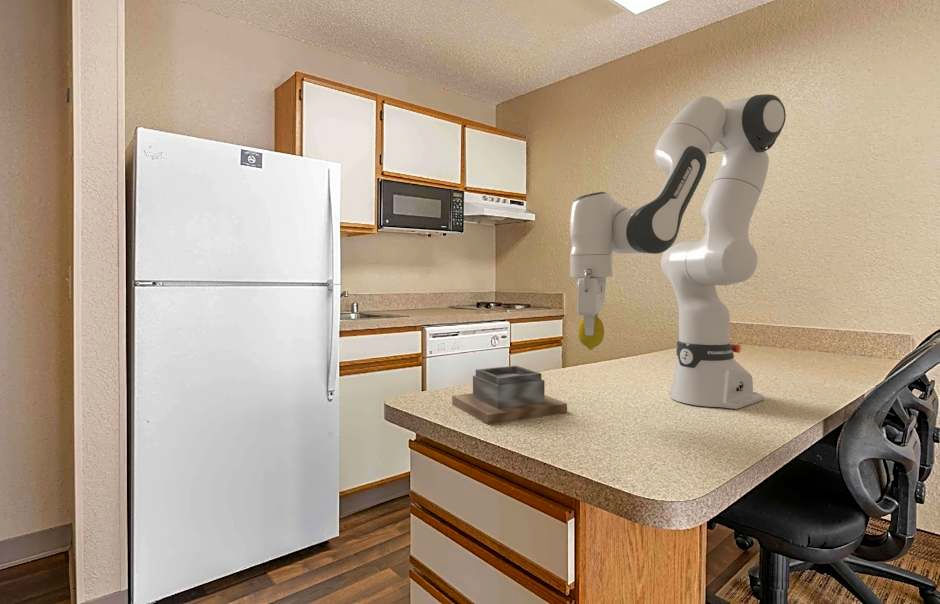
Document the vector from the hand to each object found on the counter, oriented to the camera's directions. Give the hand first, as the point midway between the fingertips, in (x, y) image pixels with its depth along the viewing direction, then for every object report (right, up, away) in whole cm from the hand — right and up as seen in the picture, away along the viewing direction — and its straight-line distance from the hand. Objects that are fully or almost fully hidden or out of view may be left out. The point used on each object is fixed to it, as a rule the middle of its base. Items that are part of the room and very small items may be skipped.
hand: (591, 333), depth 107 cm
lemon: (0, -4, 0) cm, 4 cm away
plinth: (-18, -18, +7) cm, 26 cm away
